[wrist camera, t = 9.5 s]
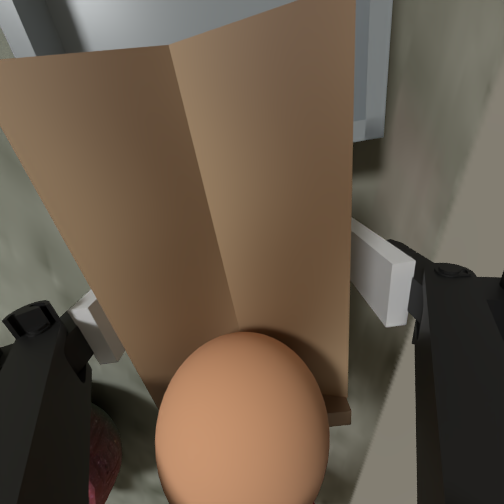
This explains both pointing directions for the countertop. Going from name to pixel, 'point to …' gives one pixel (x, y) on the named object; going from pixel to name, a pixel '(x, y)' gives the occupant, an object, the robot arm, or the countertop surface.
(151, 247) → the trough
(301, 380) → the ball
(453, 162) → the countertop surface
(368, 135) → the tray
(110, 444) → the bowl
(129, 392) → the countertop surface
